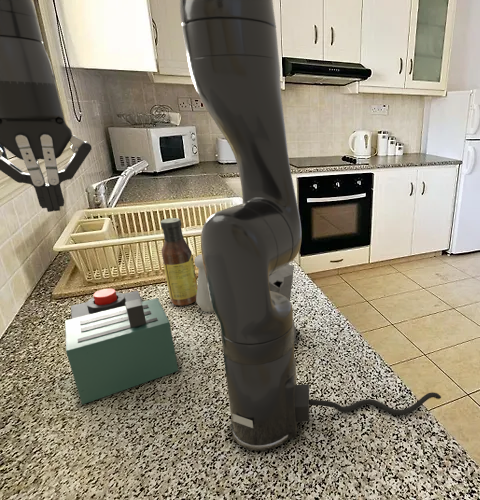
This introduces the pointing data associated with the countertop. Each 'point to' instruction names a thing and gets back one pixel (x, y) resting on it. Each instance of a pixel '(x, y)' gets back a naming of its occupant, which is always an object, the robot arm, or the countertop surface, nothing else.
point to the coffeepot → (283, 284)
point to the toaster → (118, 350)
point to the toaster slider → (135, 313)
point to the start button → (105, 296)
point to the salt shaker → (202, 287)
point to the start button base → (92, 308)
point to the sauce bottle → (178, 264)
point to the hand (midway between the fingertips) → (54, 210)
